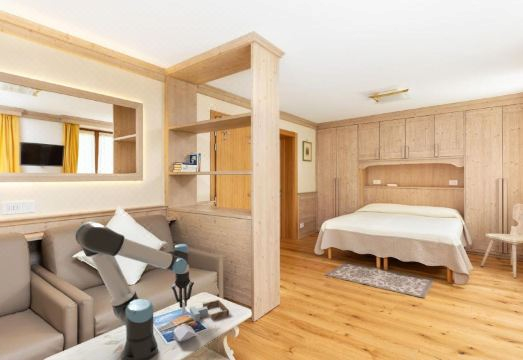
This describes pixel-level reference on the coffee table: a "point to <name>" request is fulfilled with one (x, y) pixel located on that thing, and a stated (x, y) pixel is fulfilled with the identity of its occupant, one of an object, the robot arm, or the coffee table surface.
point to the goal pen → (217, 303)
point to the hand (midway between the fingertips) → (183, 312)
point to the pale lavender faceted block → (183, 333)
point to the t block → (198, 313)
